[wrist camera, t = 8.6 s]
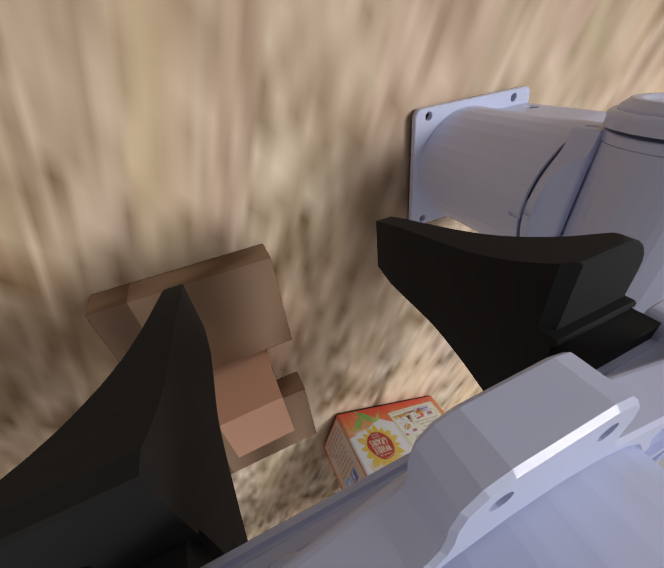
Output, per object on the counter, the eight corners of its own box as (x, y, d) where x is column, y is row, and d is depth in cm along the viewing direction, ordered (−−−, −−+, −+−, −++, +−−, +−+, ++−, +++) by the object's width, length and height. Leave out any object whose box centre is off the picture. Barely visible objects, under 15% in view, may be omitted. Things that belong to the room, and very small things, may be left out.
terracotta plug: (259, 336, 25) (281, 397, 20) (272, 369, 27) (294, 430, 23) (206, 357, 24) (218, 426, 19) (225, 389, 26) (239, 457, 22)
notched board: (262, 243, 21) (270, 257, 20) (308, 415, 33) (316, 432, 31) (90, 295, 18) (84, 316, 17) (209, 462, 30) (211, 483, 29)
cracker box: (320, 447, 37) (441, 733, 21) (335, 411, 35) (485, 706, 19) (413, 425, 44) (556, 629, 28) (431, 393, 41) (601, 598, 26)
